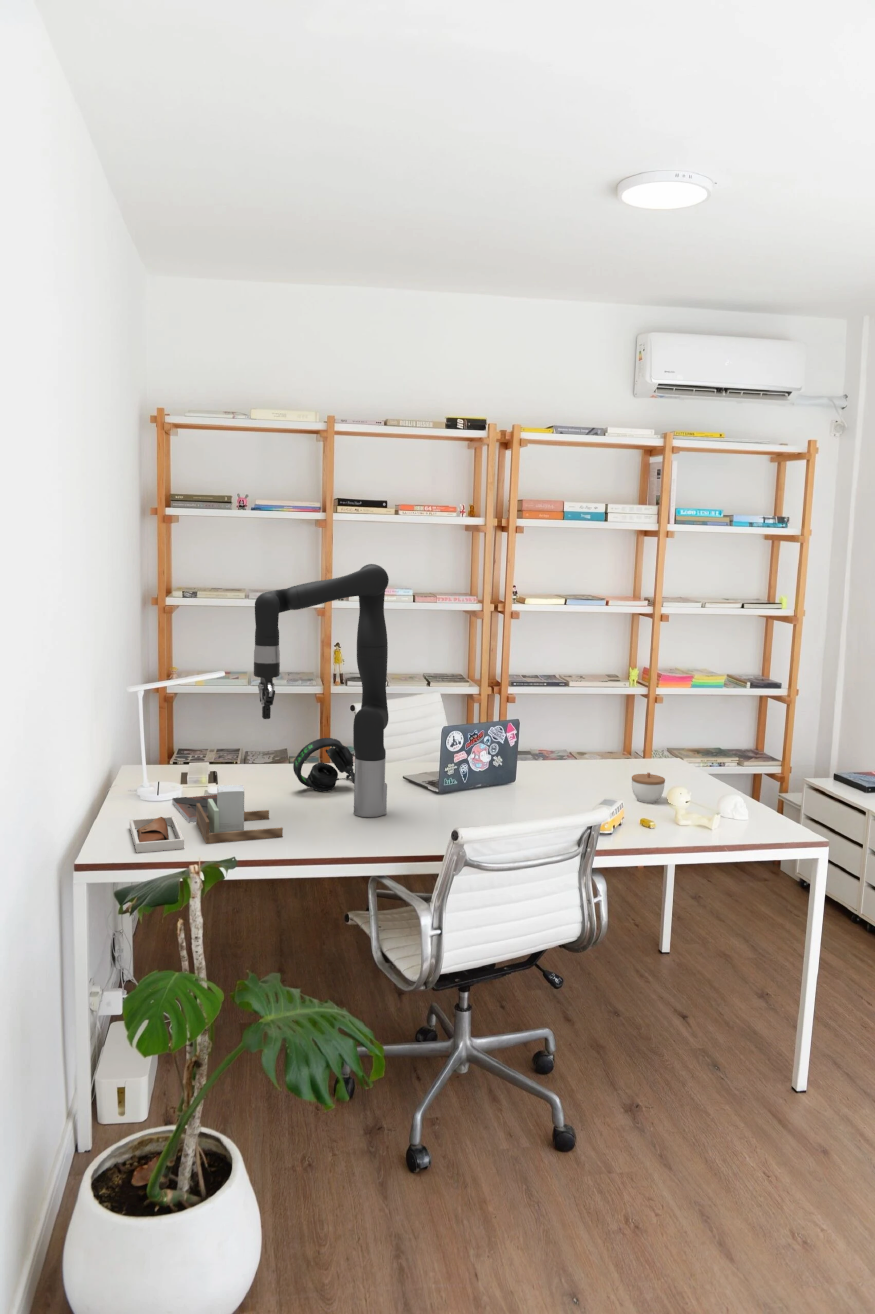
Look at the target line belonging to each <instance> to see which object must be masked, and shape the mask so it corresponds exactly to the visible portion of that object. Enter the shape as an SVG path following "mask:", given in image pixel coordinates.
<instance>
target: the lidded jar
mask: <svg viewBox="0 0 875 1314" xmlns="http://www.w3.org/2000/svg"><path fill="white" fill-rule="evenodd" d="M665 783H666V779H665V777H664V776H661V775H657V774H652V773H651V772H646V773H636V774H633V775H632V776H631V789H632V794H633V796H634V797H635V798H636V799H637V801H639V803H644V804H646V803H647V804H656V803H657V801H658V800H659V799H660V798H661V797H662V795H663V794H664V790H665Z"/></svg>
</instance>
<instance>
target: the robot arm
mask: <svg viewBox="0 0 875 1314" xmlns="http://www.w3.org/2000/svg"><path fill="white" fill-rule="evenodd" d="M389 581H390V579H389V575H388V572H387V571H386V569H384V568H383V566H380V565H378V564H376V563H375V564H374V563H368V564H366V565H364V566H362V567H360V569H359V570H357V571H354V572H352V573H349V574H347V575H343V576H339V577H334V578H330V579H329V578H328V579H323V580H315V581H310V582H305V583H301V584H296V585H293V586H291V587H290V586H289V587H287V588H282V589H275V590H269V591H265V592H263V593H261V594H259V595H258V596H257V597H256V599H255V601H254V620H255V621H254V622H255V630H254V631H255V632H254V650H253V676H254V677H255V678H260V682H258V685H257V688H258V689H257V690H258V696H259V703H260V704H261V717H262V719H263V720H269V719H271V709H272V708H271V707H272V706H273V705H274V700H275V695H276V690H275V683H274V680H273V679H274V678H279V677H280V674H281V673H280V665H281V662H280V661H281V651H280V629H279V615H280V613H285V612H289V611H297V610H303V609H307V608H311V607H312V608H313V607H315V606H318V605H322V604H326V603H329V602H332V601H333V602H334V601H337V600H340V599H345V598H346V599H347V598H352V597H358V604H359V605H358V606H359V614H358V621H357V622H358V623H357V633H356V664H357V669H358V674H359V677H360V681H361V689H362V691H361V692H362V693H361V706H360V709H359V710H358V711H357V712H356V714H355V715H354V719H353V731H352V732H353V736H352V737H353V738H352V739H353V743H352V744H353V750H354V773H355V776H354V782H353V783H354V785H353V787H354V788H353V814H354V815H355V816H357V817H362V818H376V817H382V816H386V815H387V802H388V799H387V798H388V796H387V795H388V784H387V783H386V755H387V753H386V752H387V751H386V748H385V742H384V741H385V740H384V735H385V732H384V731H385V729H386V728H387V726H388V723H389V709H388V701H387V700H388V698H387V677H388V676H387V675H388V657H389V656H388V653H389V651H388V650H389V649H388V648H389V647H388V646H389V645H388V632H387V625H386V618H385V595H386V589H387V587H388V586H389Z"/></svg>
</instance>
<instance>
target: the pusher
mask: <svg viewBox="0 0 875 1314" xmlns="http://www.w3.org/2000/svg"><path fill="white" fill-rule="evenodd" d="M208 820H209V833H219V809H218V808H217V806H216V804H215V803H214V801H213V799H208Z"/></svg>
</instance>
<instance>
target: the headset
mask: <svg viewBox="0 0 875 1314" xmlns="http://www.w3.org/2000/svg"><path fill="white" fill-rule="evenodd" d="M325 748H326V749H325ZM327 748H328V749H327ZM321 749H325V753H326V754H327V756H328V757H329V759H330V761H331V762H332V763H333V765H334V766H335V767H334V766H332V765H331V764H329V763H327V762H326V763H324V762H319V761H318V762H317V763H315V764H313V765H312V767H311V770H310V771H309V774H308V775H307V777H305V776H303V775H302V767H303V765H304V764H305V762H306V761H307V759H308V758H309V757H311V755H312V754H314V753H315V752H317V751H318V750H321ZM292 764H293V765H292V768H293V772H294V775H295V776H296V778H297V780H298V781H299V782H300V783H301V785H304V786H305V787H307V788H309V789H310V788H311V789H313V790H315V791H318V792H323V791H326V792H330V790H331V791H332V790H334V789H335V787H336V784H337V781H339V780H351V781H352V782H353V783H354V776H355V768H354V767H355V764H354V756H353V754H352V752H351V751H350V749H349V748H348V747H347V746H346V745H344V744H343V743H342V742H341V741H340V740H338V739H337V738H332V737H322V738H319V739H315V740H313V741H311V742H309V743H308V744H306V745H305V746H304V747H303V748H302V749H300V751H299V752H298V753H297V755H296V756H295V759H294V761H293V763H292ZM338 771H339V773H341V774H343V773H346V776H345V778H339V777H338V776H339V773H338Z"/></svg>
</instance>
